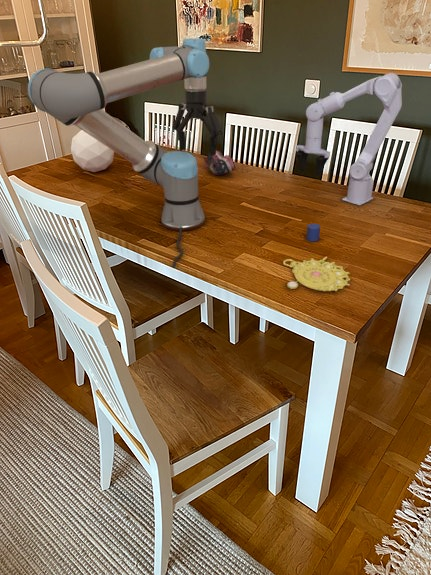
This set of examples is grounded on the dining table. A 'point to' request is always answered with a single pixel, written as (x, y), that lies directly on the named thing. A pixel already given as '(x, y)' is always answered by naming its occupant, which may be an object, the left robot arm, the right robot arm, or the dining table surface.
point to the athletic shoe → (219, 163)
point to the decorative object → (318, 275)
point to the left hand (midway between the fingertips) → (197, 152)
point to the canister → (313, 232)
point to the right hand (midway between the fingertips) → (310, 172)
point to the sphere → (90, 152)
